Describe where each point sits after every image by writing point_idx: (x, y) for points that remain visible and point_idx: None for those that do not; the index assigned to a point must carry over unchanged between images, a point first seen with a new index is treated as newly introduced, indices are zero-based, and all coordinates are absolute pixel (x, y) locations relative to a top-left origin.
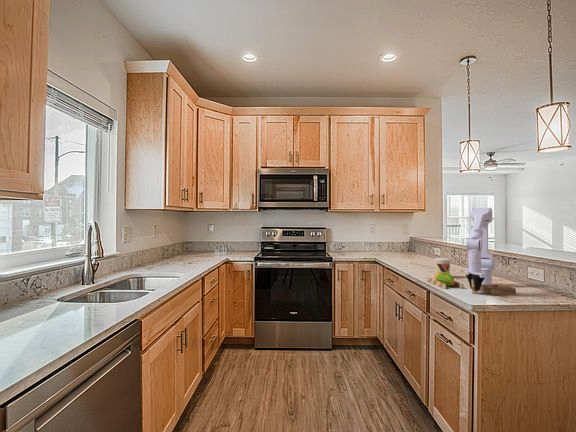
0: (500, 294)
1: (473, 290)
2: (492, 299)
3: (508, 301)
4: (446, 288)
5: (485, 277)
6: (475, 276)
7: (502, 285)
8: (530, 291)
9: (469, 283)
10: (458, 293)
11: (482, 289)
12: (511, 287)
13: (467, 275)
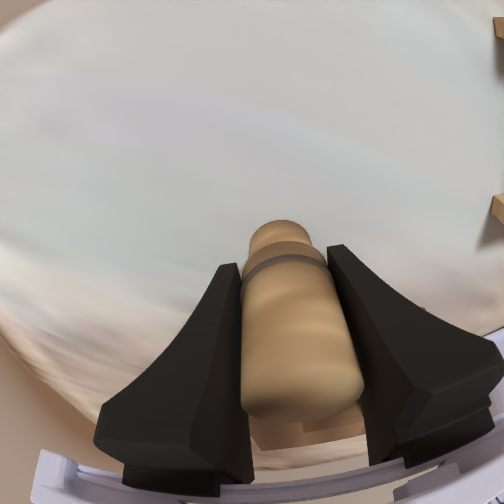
0: None
1: (263, 247)
2: (59, 297)
3: (58, 349)
4: (500, 36)
5: (493, 398)
6: (180, 468)
7: (355, 431)
8: (329, 445)
9: (373, 279)
10: (257, 40)
11: None
12: (292, 446)
13: (432, 395)
